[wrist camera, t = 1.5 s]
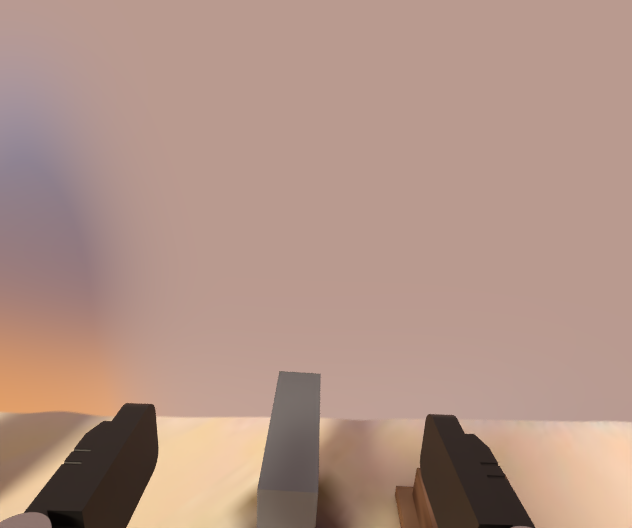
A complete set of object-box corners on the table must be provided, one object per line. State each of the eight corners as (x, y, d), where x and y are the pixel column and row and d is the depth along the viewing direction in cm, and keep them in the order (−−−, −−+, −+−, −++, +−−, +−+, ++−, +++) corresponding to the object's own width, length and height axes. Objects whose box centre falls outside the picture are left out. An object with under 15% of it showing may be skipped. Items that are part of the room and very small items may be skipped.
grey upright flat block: (303, 666, 24) (318, 493, 20) (254, 663, 24) (257, 488, 20) (309, 514, 34) (320, 373, 29) (274, 512, 34) (279, 371, 29)
